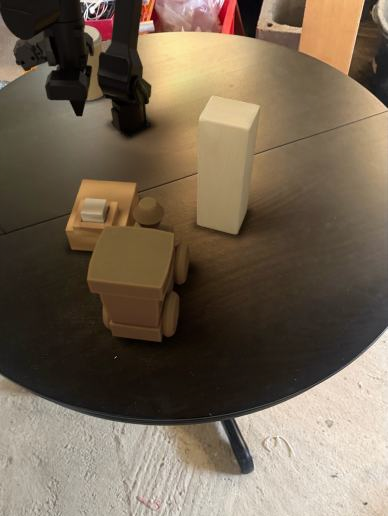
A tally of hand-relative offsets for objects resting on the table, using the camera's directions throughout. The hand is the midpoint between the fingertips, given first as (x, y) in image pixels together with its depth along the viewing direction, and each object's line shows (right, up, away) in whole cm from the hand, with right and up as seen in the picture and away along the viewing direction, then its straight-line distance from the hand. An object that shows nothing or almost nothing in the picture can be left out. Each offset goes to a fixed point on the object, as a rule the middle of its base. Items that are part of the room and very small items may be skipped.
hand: (79, 115), depth 85 cm
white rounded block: (+4, -20, -5) cm, 21 cm away
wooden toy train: (+13, -34, -7) cm, 37 cm away
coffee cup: (-4, +18, +25) cm, 31 cm away
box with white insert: (+5, -19, +2) cm, 20 cm away
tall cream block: (+26, -18, +3) cm, 32 cm away
